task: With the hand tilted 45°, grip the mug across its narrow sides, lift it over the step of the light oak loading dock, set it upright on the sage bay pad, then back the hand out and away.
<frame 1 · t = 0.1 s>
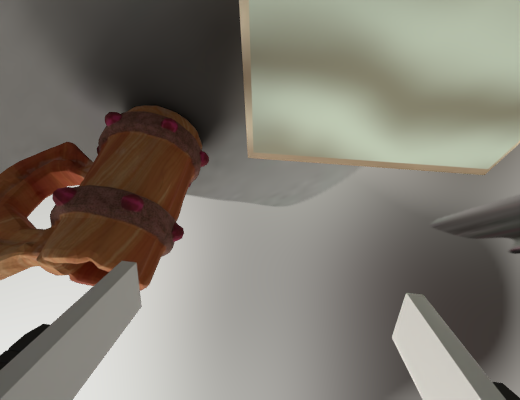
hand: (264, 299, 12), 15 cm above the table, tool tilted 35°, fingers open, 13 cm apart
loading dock: (390, 44, 16), on the table
mug: (140, 126, 23), on the table
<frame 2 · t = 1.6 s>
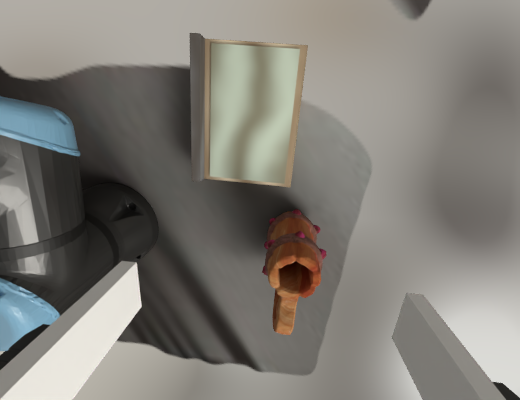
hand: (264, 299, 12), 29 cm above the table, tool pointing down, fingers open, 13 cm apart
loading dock: (250, 118, 37), on the table
mug: (287, 241, 43), on the table
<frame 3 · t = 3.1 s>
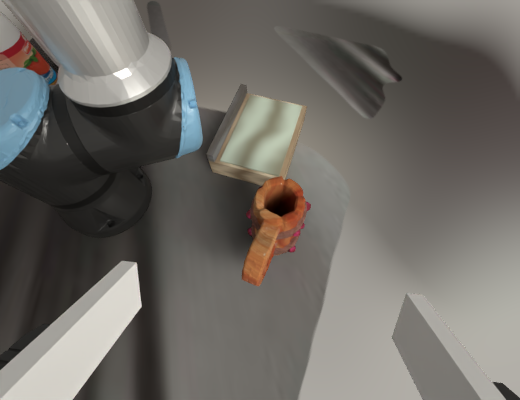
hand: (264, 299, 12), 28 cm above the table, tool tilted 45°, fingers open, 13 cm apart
fruit juice: (45, 92, 58), on the table
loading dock: (260, 145, 50), on the table
mug: (269, 248, 42), on the table
milk carton: (73, 62, 63), on the table
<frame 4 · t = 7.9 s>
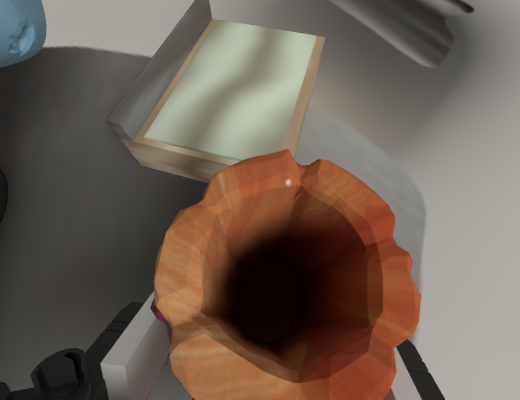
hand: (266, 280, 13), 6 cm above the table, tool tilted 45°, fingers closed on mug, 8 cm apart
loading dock: (238, 113, 27), on the table
mug: (256, 340, 17), on the table, touching gripper
when the fingers open (11 cm above the table, at t = 14.9 s): mug drops 1 cm, resting on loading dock.
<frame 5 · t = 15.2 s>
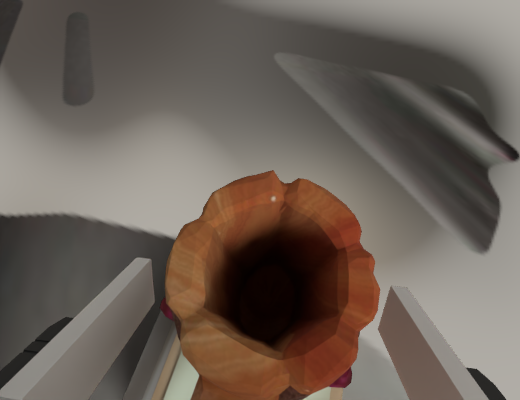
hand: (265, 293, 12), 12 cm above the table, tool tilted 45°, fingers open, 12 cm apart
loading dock: (255, 334, 22), on the table
mug: (256, 337, 19), point 4 cm above the table, touching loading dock
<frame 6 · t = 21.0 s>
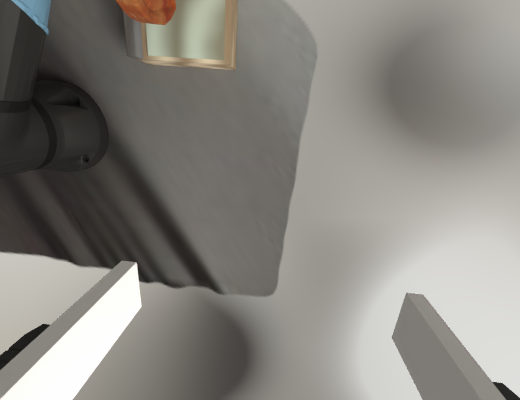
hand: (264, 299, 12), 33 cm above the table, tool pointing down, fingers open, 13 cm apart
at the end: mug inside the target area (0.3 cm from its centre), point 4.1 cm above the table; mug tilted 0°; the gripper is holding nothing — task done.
